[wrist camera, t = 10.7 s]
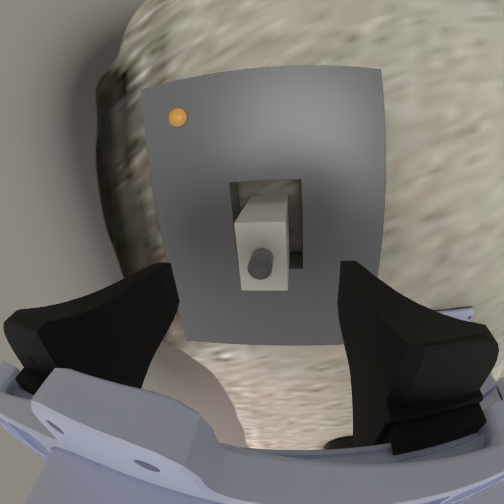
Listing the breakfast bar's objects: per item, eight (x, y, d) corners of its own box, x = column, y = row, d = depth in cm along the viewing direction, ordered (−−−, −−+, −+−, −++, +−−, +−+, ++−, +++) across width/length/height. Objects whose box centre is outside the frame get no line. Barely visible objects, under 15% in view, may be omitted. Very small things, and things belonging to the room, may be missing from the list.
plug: (289, 247, 21) (286, 302, 14) (255, 247, 21) (237, 302, 15) (287, 194, 19) (284, 230, 13) (251, 196, 20) (229, 231, 13)
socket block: (360, 324, 23) (365, 344, 20) (195, 323, 25) (186, 341, 23) (370, 76, 15) (381, 68, 12) (157, 92, 17) (139, 89, 15)
